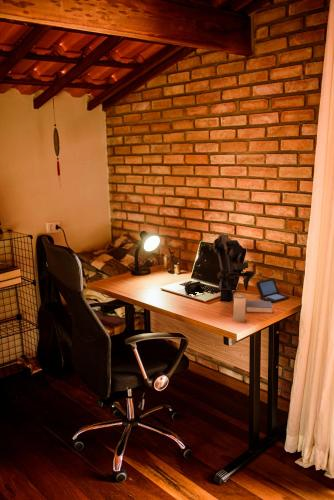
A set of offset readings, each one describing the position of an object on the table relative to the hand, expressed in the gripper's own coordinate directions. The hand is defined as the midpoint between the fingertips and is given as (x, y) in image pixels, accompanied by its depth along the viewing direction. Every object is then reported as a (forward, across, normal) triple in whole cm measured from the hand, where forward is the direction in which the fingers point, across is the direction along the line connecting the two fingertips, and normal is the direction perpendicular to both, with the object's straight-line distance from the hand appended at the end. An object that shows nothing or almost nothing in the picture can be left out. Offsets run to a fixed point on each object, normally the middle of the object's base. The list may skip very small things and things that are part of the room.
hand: (238, 290), depth 240 cm
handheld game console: (-3, +31, +21) cm, 38 cm away
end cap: (-11, -10, +37) cm, 40 cm away
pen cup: (+15, -2, +1) cm, 15 cm away
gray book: (+7, +14, +10) cm, 19 cm away
